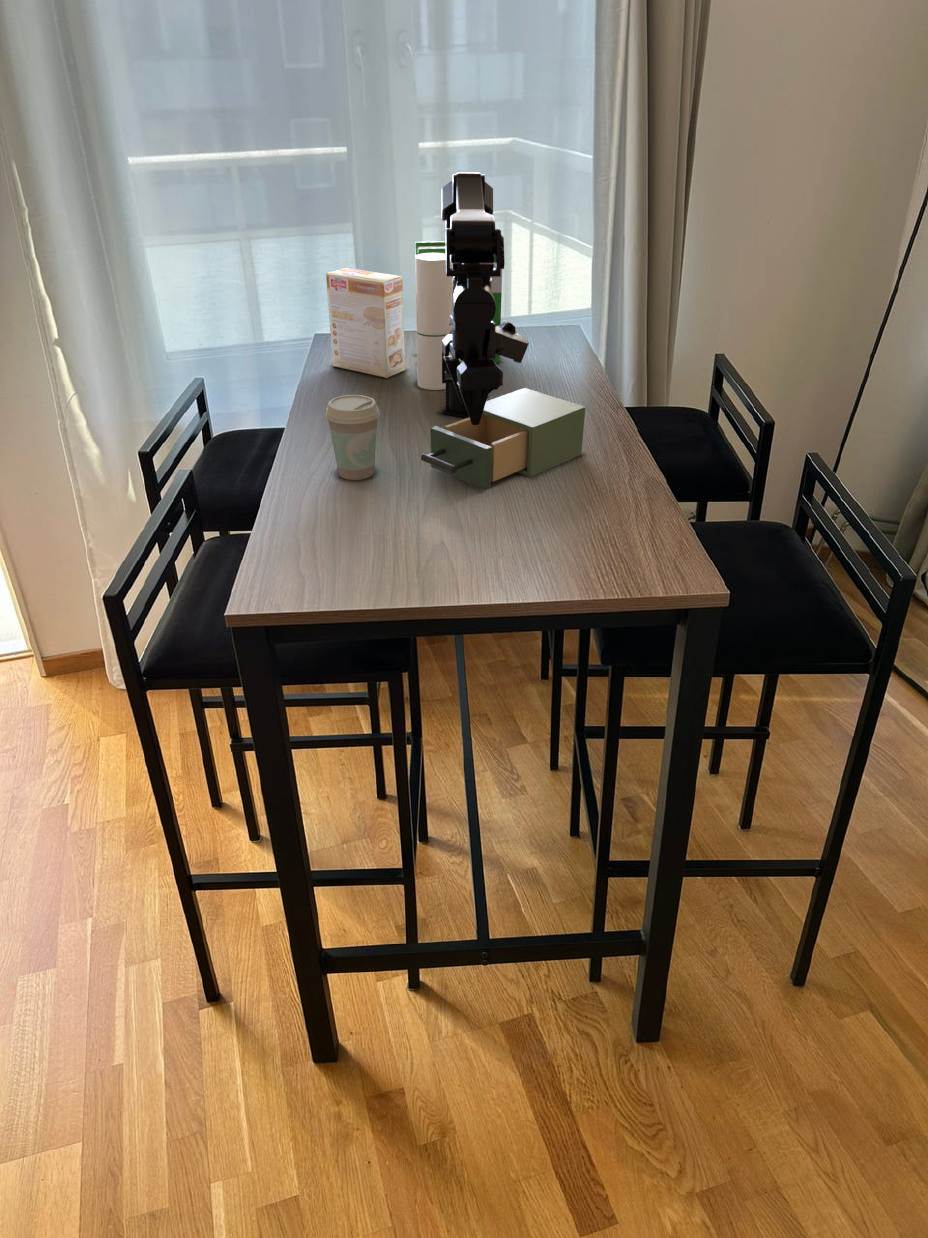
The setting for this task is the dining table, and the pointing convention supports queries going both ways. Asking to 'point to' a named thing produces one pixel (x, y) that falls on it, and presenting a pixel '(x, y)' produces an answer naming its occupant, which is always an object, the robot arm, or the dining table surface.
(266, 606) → the dining table surface
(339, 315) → the coffeecake box
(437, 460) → the drawer
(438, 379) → the cylindrical container
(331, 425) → the coffee cup
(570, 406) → the cabinet
